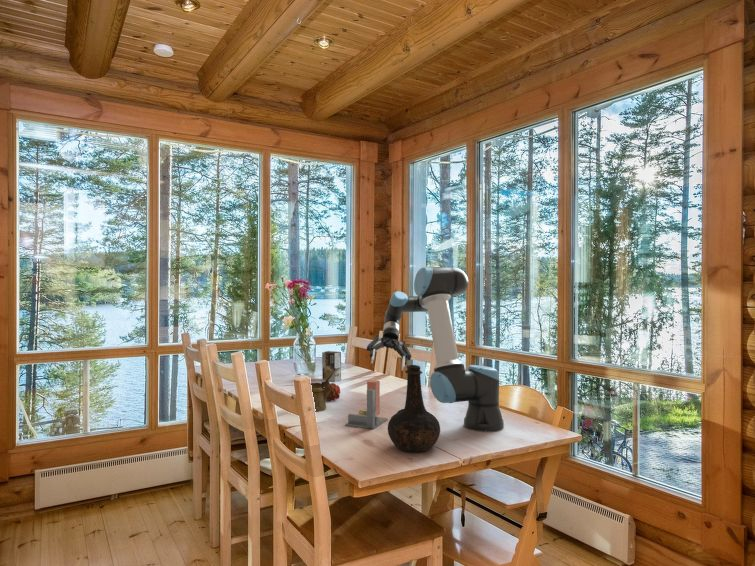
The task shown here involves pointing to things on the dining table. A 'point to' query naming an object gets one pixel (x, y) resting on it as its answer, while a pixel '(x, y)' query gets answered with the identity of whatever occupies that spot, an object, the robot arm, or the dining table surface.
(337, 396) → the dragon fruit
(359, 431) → the dining table surface
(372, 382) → the link bar
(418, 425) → the glass bottle
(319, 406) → the brass mortar and pestle
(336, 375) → the coffee box
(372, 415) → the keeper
